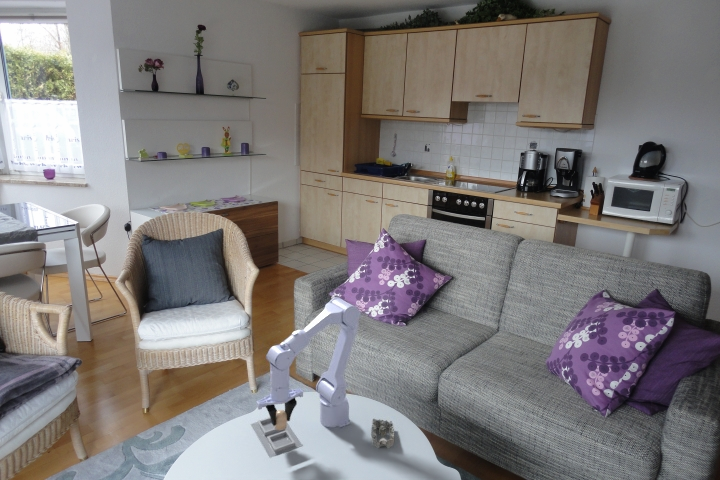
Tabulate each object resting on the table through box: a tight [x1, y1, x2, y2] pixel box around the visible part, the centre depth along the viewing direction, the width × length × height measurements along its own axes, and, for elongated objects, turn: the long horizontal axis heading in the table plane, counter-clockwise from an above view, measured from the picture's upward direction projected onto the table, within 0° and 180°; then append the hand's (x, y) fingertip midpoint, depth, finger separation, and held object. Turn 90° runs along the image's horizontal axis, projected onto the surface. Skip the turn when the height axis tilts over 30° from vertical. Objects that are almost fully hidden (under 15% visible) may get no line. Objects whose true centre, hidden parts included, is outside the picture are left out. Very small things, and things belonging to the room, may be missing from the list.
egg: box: [274, 409, 288, 430], centre depth 149 cm, size 4×4×6 cm
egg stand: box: [250, 416, 304, 458], centre depth 155 cm, size 11×18×2 cm, turn 31°
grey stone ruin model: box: [370, 418, 395, 449], centre depth 156 cm, size 11×8×4 cm
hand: (280, 421), depth 149 cm, fingers closed on egg, 4 cm apart
